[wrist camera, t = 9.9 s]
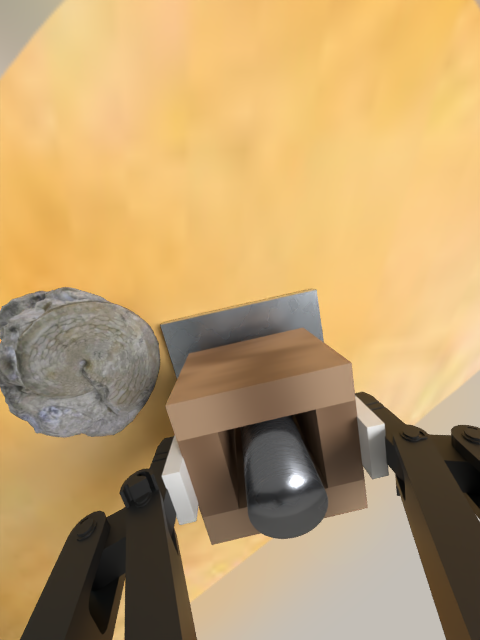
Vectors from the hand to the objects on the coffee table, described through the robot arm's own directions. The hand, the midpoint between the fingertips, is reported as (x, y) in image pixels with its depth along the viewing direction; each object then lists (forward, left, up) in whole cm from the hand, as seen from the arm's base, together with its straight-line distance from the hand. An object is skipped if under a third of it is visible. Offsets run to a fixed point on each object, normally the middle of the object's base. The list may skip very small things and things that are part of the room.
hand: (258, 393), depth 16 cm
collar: (0, 0, 0) cm, 0 cm away
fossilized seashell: (-12, +5, -4) cm, 14 cm away
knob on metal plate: (0, 0, -3) cm, 3 cm away
